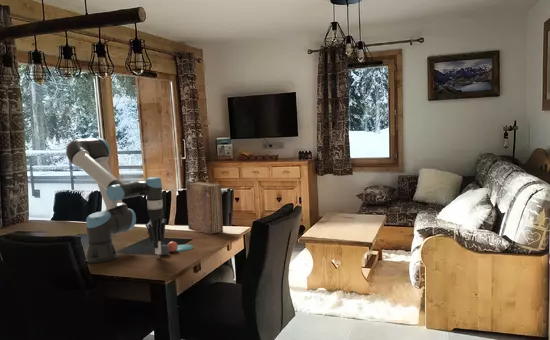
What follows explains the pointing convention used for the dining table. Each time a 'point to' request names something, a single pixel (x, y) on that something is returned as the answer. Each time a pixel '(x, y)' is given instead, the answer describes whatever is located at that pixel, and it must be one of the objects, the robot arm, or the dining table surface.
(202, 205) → the book
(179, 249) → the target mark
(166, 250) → the gray ball
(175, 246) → the object ball
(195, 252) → the dining table surface
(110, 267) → the dining table surface
